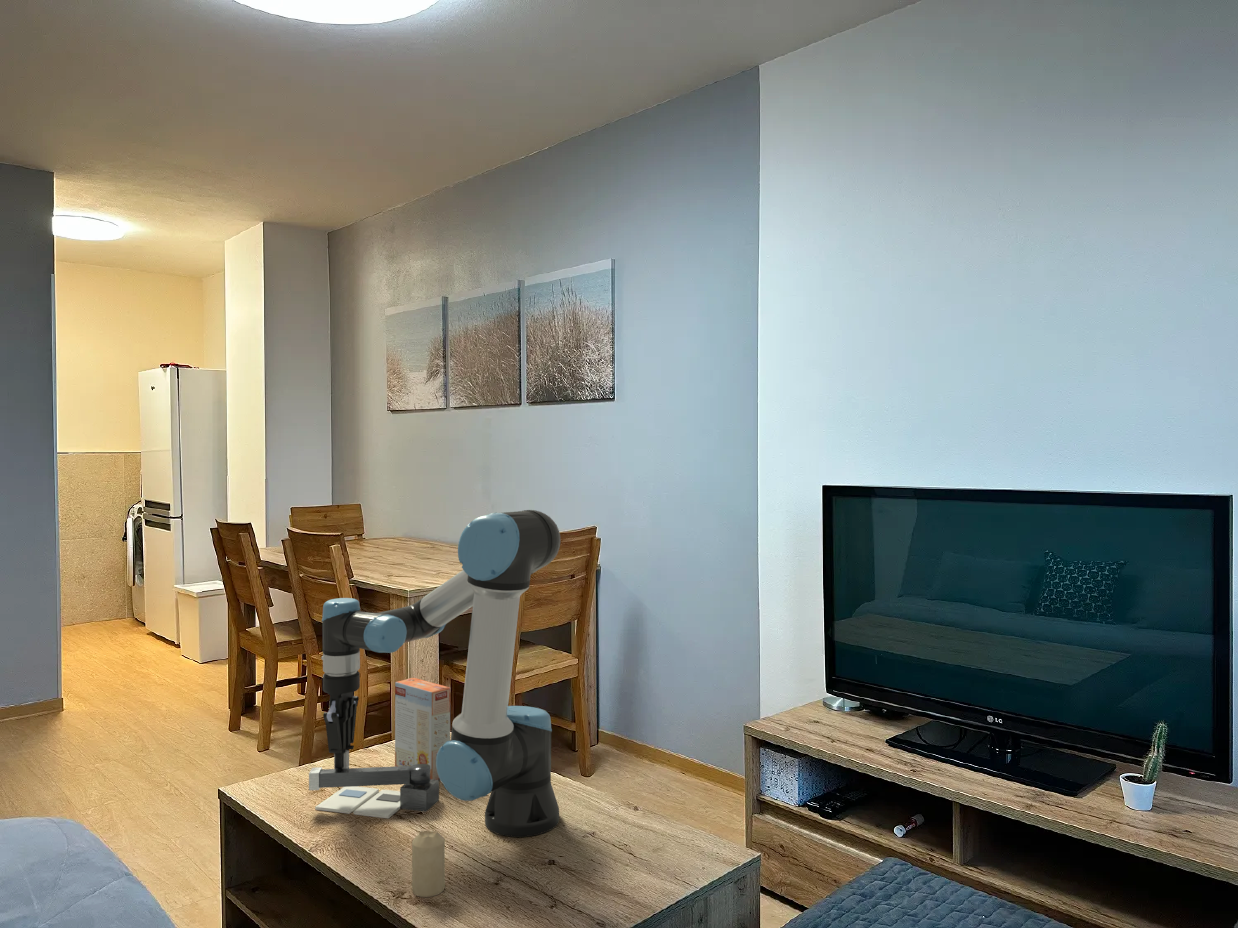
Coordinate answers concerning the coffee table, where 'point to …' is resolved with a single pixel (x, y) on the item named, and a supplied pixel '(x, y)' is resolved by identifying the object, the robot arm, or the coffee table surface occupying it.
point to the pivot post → (419, 796)
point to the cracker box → (421, 722)
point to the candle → (428, 864)
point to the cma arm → (369, 776)
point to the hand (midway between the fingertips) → (341, 781)
